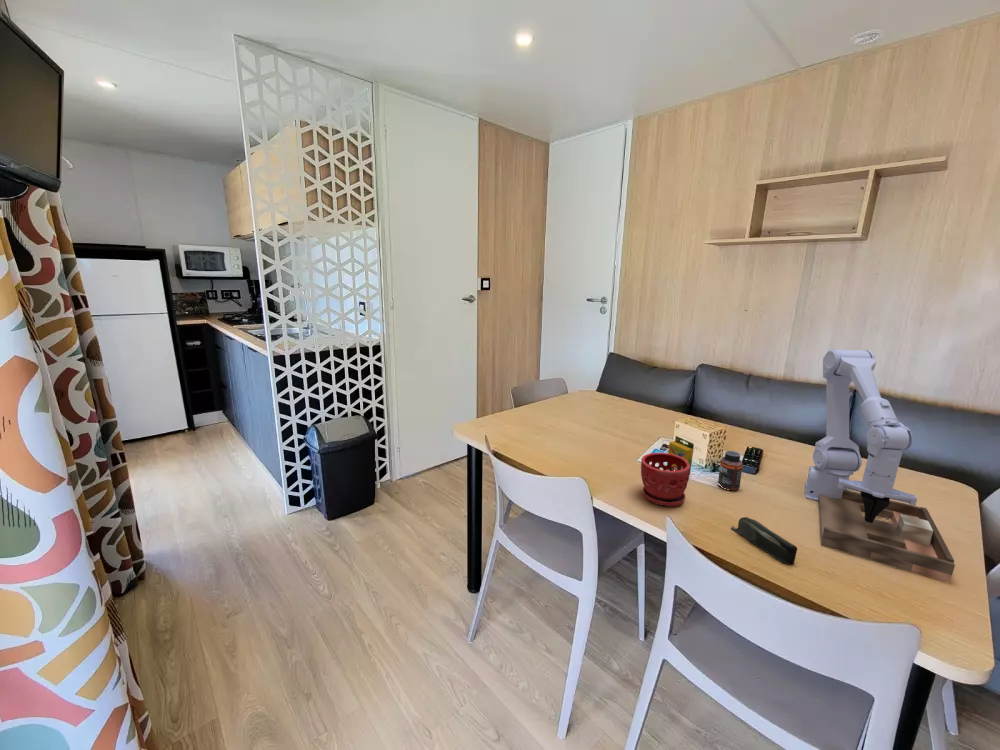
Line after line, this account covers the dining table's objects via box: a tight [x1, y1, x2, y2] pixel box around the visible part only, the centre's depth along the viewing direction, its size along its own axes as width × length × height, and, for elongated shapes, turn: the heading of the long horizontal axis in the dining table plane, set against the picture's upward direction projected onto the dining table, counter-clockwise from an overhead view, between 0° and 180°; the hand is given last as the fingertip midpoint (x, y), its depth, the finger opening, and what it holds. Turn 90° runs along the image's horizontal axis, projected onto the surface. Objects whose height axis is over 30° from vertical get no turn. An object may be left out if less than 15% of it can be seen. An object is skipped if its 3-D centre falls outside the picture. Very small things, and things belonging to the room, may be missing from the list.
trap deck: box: [817, 489, 956, 584], centre depth 105 cm, size 22×27×5 cm
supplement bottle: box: [717, 450, 743, 491], centre depth 127 cm, size 6×6×11 cm
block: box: [897, 514, 933, 546], centre depth 100 cm, size 5×5×4 cm
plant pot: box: [640, 452, 691, 507], centre depth 120 cm, size 13×13×12 cm
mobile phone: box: [730, 516, 798, 565], centre depth 100 cm, size 5×3×15 cm
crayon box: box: [666, 435, 694, 472], centre depth 136 cm, size 7×3×12 cm, turn 27°
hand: (868, 520), depth 105 cm, fingers closed
